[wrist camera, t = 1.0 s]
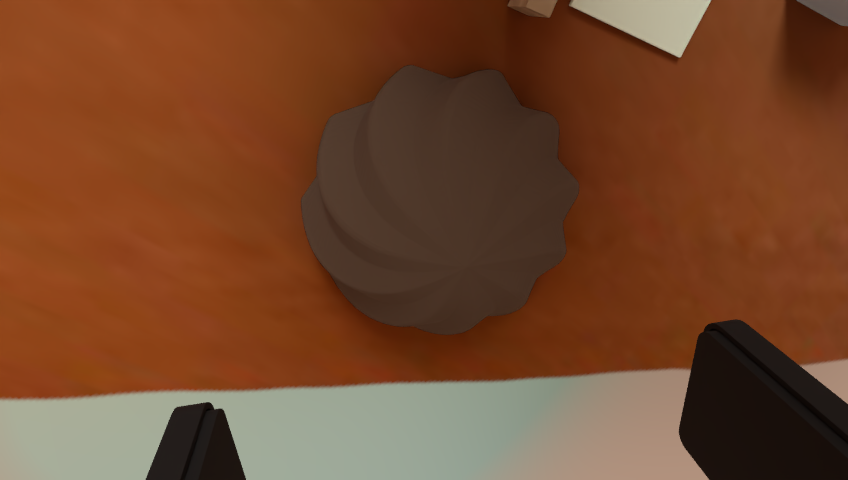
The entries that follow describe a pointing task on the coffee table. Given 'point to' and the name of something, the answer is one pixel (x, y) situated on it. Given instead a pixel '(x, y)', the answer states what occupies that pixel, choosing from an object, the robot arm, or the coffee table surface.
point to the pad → (650, 19)
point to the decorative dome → (439, 200)
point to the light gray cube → (830, 9)
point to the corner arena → (534, 7)
